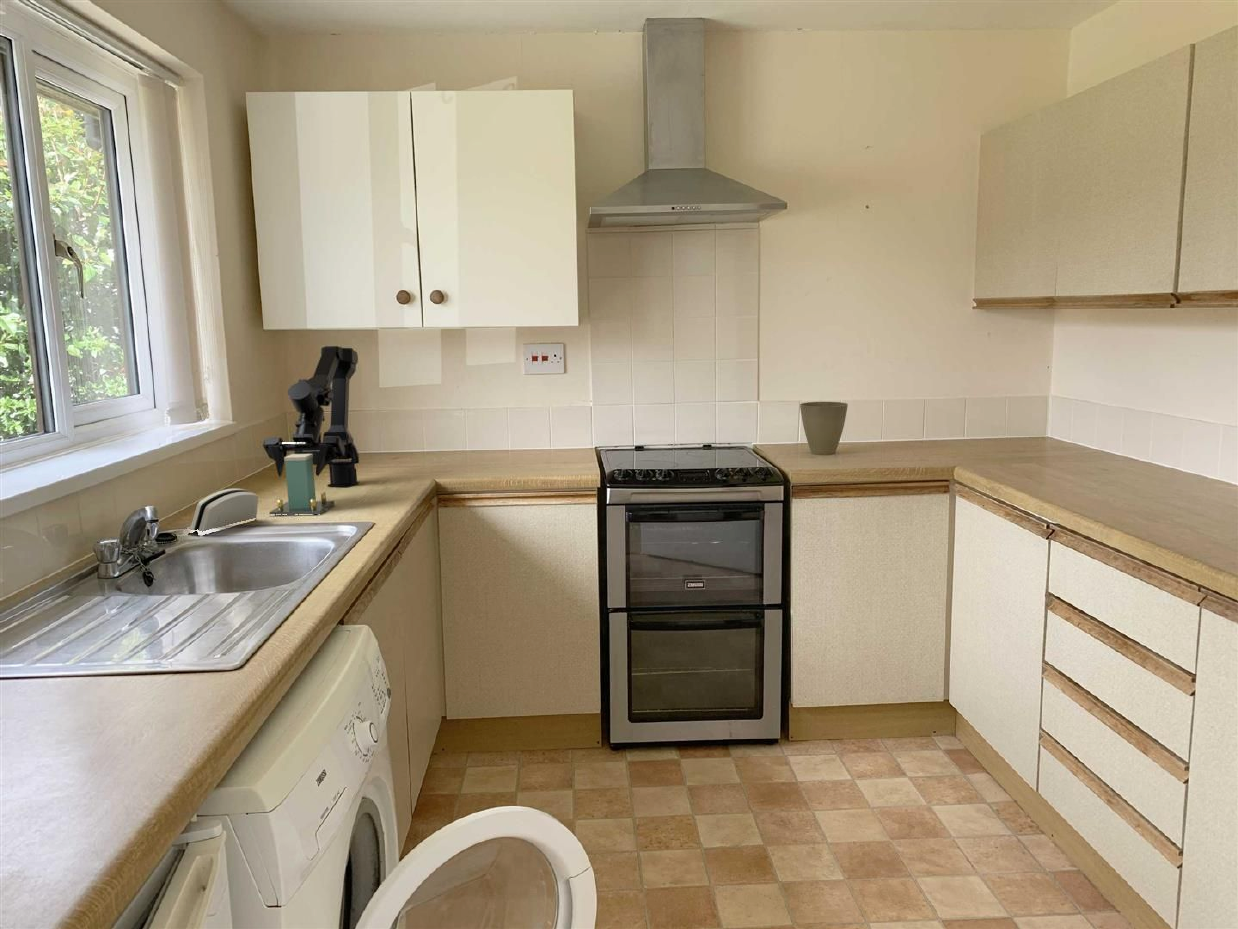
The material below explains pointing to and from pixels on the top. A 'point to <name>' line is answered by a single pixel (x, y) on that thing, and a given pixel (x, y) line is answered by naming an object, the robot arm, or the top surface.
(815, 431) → the plant pot
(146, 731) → the top surface
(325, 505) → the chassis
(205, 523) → the grey napkin holder
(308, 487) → the tea tin
